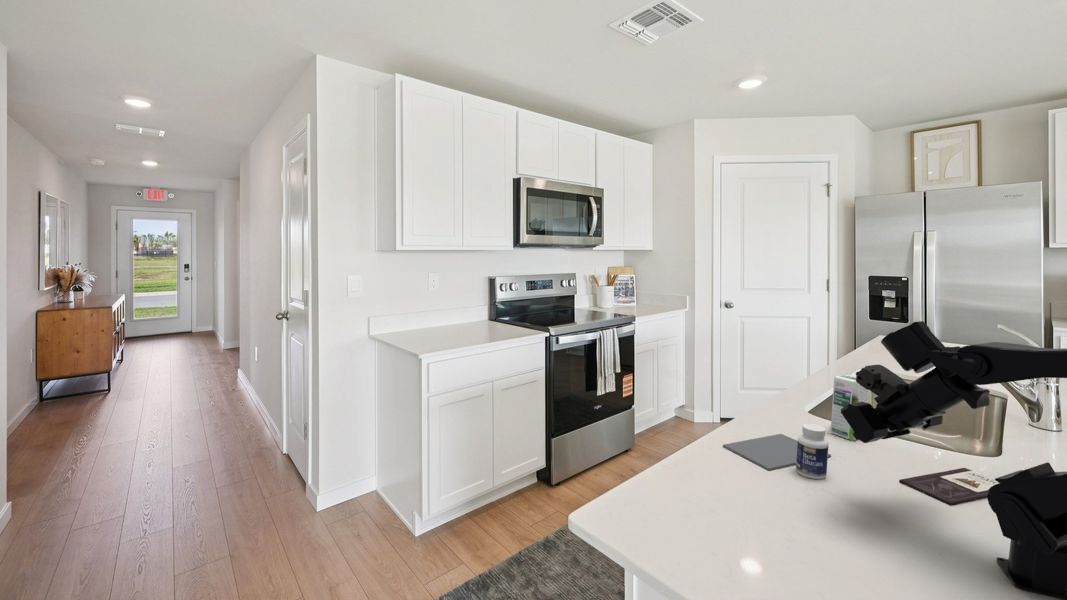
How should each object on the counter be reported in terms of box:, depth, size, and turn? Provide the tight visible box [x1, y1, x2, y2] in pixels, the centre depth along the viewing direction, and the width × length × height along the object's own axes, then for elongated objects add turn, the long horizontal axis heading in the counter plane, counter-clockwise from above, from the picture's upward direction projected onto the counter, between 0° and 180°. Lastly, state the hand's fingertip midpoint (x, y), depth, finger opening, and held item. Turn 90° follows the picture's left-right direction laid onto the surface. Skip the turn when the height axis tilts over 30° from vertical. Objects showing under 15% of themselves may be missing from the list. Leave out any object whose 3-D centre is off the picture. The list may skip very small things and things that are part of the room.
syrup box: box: [829, 374, 871, 442], centre depth 115 cm, size 6×6×14 cm
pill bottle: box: [795, 423, 830, 480], centre depth 96 cm, size 5×5×10 cm
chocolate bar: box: [898, 467, 999, 507], centre depth 91 cm, size 9×1×18 cm
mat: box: [722, 433, 832, 472], centre depth 107 cm, size 13×18×1 cm
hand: (855, 436), depth 87 cm, fingers closed
